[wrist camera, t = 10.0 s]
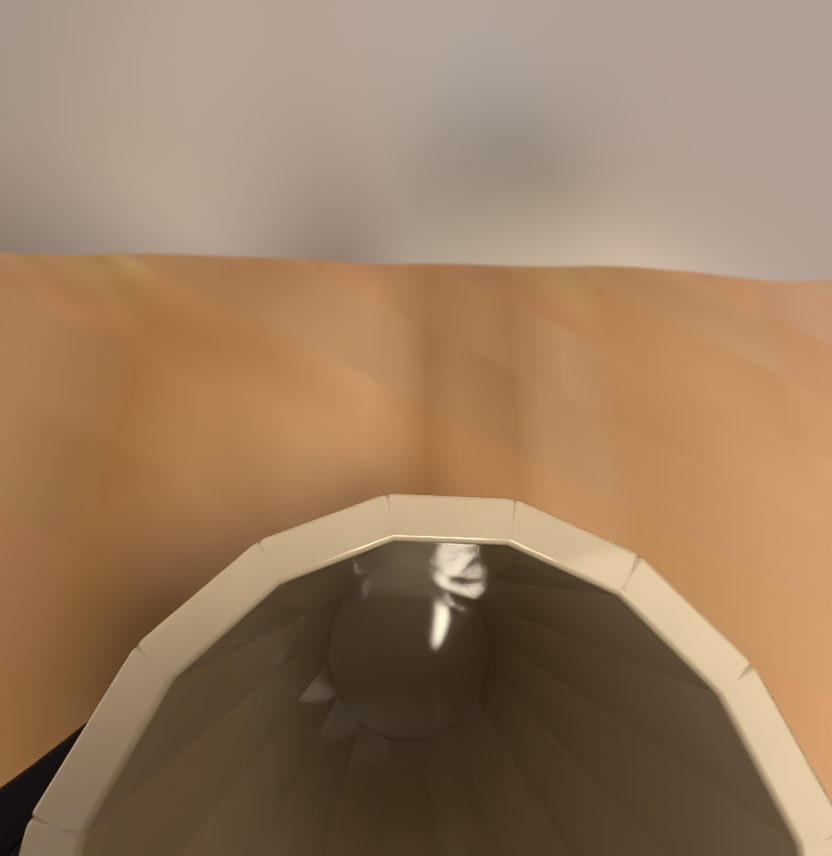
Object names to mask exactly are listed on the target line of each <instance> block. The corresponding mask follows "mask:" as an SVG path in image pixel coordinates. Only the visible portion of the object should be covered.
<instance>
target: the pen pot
mask: <svg viewBox="0 0 832 856" xmlns="http://www.w3.org/2000/svg"><path fill="white" fill-rule="evenodd" d="M32 816H33V818H32V819H31V820H30V822H29V823H28V825H27V827H26V830H25V834H24V837H23V841H22V845H21V848H20V852H19V856H832V802H831V800H830V799H829V797H828V795H827V793H826V791H825V790H824V788H823V786H822V784H821V783H820V781H819V779H818V777H817V775H816V774H815V772H814V770H813V768H812V767H811V765H810V763H809V761H808V759H807V758H806V756H805V754H804V752H803V751H802V749H801V747H800V745H799V743H798V742H797V740H796V738H795V736H794V735H793V733H792V731H791V729H790V728H789V726H788V724H787V722H786V720H785V719H784V717H783V715H782V713H781V712H780V710H779V708H778V706H777V704H776V703H775V701H774V699H773V697H772V696H771V694H770V692H769V690H768V688H767V687H766V685H765V683H764V681H763V680H762V678H761V676H760V674H759V672H758V671H757V670H756V668H755V667H754V666H752V665H751V662H750V661H749V659H748V658H747V657H746V656H745V655H744V654H743V653H742V652H741V651H740V650H739V649H738V648H736V647H735V646H734V645H733V644H732V643H731V642H730V641H729V640H728V639H727V638H726V637H725V636H724V635H723V634H722V633H721V632H720V631H719V630H718V629H717V628H716V627H714V626H713V625H712V624H711V623H710V622H709V621H708V620H707V619H706V618H705V617H704V616H703V615H702V614H701V613H700V612H699V611H698V610H697V609H696V608H695V607H694V606H693V605H691V604H690V603H689V602H688V601H687V600H686V599H685V598H684V597H683V596H682V595H681V594H680V593H679V592H678V591H677V590H676V589H675V588H674V587H673V586H672V585H671V584H669V583H668V582H667V581H666V580H665V579H664V578H663V577H662V576H661V575H660V574H659V573H658V572H657V571H656V570H655V569H654V568H653V567H652V566H651V565H650V564H649V563H647V562H646V561H645V560H644V559H643V558H642V557H639V556H637V554H635V553H634V552H633V551H631V550H629V549H627V548H625V547H622V546H620V545H618V544H616V543H614V542H611V541H609V540H607V539H605V538H602V537H600V536H598V535H596V534H593V533H591V532H589V531H587V530H585V529H582V528H580V527H578V526H576V525H573V524H571V523H569V522H567V521H564V520H562V519H560V518H558V517H556V516H553V515H551V514H549V513H547V512H544V511H542V510H540V509H538V508H535V507H533V506H531V505H529V504H527V503H524V502H522V501H520V500H515V501H513V500H512V499H510V498H498V497H473V496H448V495H422V494H397V493H392V494H389V495H388V496H386V495H380V496H377V497H374V498H372V499H369V500H366V501H363V502H361V503H358V504H355V505H352V506H350V507H347V508H344V509H342V510H339V511H336V512H333V513H331V514H328V515H325V516H322V517H320V518H317V519H314V520H311V521H309V522H306V523H303V524H300V525H298V526H295V527H292V528H289V529H287V530H284V531H281V532H278V533H276V534H273V535H270V536H267V537H265V538H263V539H262V540H261V541H260V543H259V542H258V543H255V544H253V545H252V546H251V547H249V548H248V549H247V550H246V551H245V552H244V553H242V554H241V555H240V556H239V557H238V558H237V559H235V560H234V561H233V562H232V563H231V564H229V565H228V566H227V567H226V568H225V569H224V570H222V571H221V572H220V573H219V574H218V575H217V576H215V577H214V578H213V579H212V580H211V581H210V582H208V583H207V584H206V585H205V586H204V587H203V588H201V589H200V590H199V591H198V592H197V593H195V594H194V595H193V596H192V597H191V598H190V599H188V600H187V601H186V602H185V603H184V604H183V605H181V606H180V607H179V608H178V609H177V610H176V611H174V612H173V613H172V614H171V615H170V616H169V617H167V618H166V619H165V620H164V621H163V622H162V623H160V624H159V625H158V626H157V627H156V628H154V629H153V630H152V631H151V632H150V633H149V634H147V635H146V636H145V637H144V638H143V639H142V640H141V641H140V643H139V644H138V647H136V648H135V649H133V650H132V651H131V653H130V654H129V656H128V658H127V659H126V661H125V663H124V664H123V666H122V667H121V669H120V671H119V672H118V674H117V676H116V677H115V679H114V680H113V682H112V684H111V685H110V687H109V689H108V690H107V692H106V693H105V695H104V697H103V698H102V700H101V702H100V703H99V705H98V706H97V708H96V710H95V711H94V713H93V715H92V716H91V718H90V719H89V721H88V723H87V724H86V726H85V728H84V729H83V731H82V732H81V734H80V736H79V737H78V739H77V741H76V742H75V744H74V745H73V747H72V749H71V750H70V752H69V754H68V755H67V757H66V758H65V760H64V762H63V763H62V765H61V767H60V768H59V770H58V771H57V773H56V775H55V776H54V778H53V780H52V781H51V783H50V784H49V786H48V788H47V789H46V791H45V793H44V794H43V796H42V797H41V799H40V801H39V802H38V804H37V806H36V807H35V809H34V810H33V814H32Z"/></svg>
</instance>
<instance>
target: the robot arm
mask: <svg viewBox="0 0 832 856" xmlns="http://www.w3.org/2000/svg"><path fill="white" fill-rule="evenodd" d="M87 723H88V722H86V723H85V724H84V725H83V726H81V727H80V728H79V729H78V730H76V731H75V732H74V733H73V734H71V735H70V736H69V737H68V738H66V739H65V740H64V741H62V742H61V743H60V744H58V745H57V746H56V747H55V748H53V749H52V750H51V751H49V752H48V753H47V754H46V755H44V756H43V757H42V758H40V759H39V760H38V761H37V762H35V763H34V764H33V765H31V766H30V767H29V768H27V769H26V770H24V771H23V772H22V773H20V774H19V775H18V776H16V777H15V778H13V779H12V780H11V781H9V782H8V783H7V784H5V785H4V786H2V787H1V788H0V856H19V852H20V848H21V845H22V841H23V837H24V834H25V830H26V827H27V825H28V823H29V822H30V820H31V819H32V818H33V816H32V814H33V810H34V809H35V807H36V806H37V804H38V802H39V801H40V799H41V797H42V796H43V794H44V793H45V791H46V789H47V788H48V786H49V784H50V783H51V781H52V780H53V778H54V776H55V775H56V773H57V771H58V770H59V768H60V767H61V765H62V763H63V762H64V760H65V758H66V757H67V755H68V754H69V752H70V750H71V749H72V747H73V745H74V744H75V742H76V741H77V739H78V737H79V736H80V734H81V732H82V731H83V729H84V728H85V726H86V724H87Z"/></svg>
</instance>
